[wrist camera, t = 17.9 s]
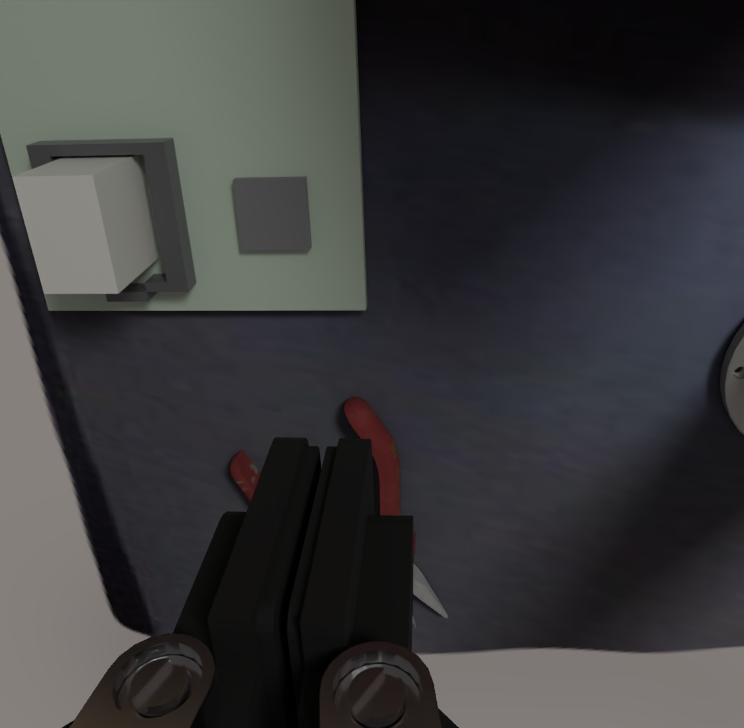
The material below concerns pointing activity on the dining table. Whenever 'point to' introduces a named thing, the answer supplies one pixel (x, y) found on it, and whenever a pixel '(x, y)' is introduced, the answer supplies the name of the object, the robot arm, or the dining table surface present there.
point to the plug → (88, 222)
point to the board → (210, 133)
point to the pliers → (389, 478)
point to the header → (164, 202)
